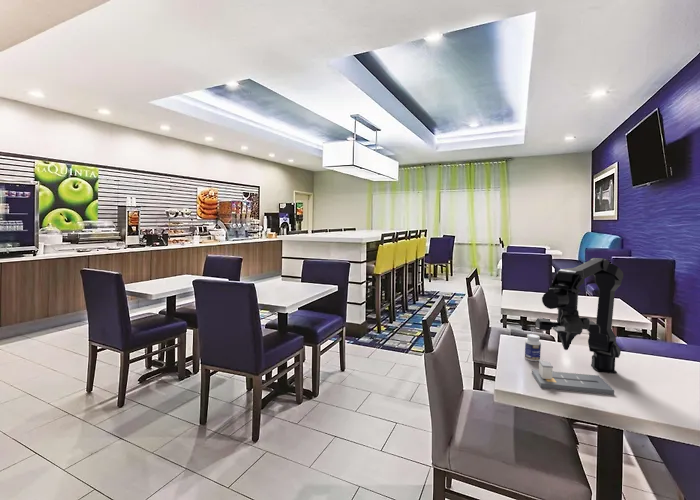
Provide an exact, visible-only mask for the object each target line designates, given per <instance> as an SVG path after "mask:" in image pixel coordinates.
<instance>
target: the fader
mask: <svg viewBox="0 0 700 500" xmlns="http://www.w3.org/2000/svg"><path fill="white" fill-rule="evenodd" d="M553 369H554V366H553V364H552V363H551V362H550V361H549V360H544V359H543V360H542V359H540V360H539V361H538V370H539V374H540V375H541V377H542V378H543V379H552V371H553Z"/></svg>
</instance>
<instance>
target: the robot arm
mask: <svg viewBox="0 0 700 500" xmlns="http://www.w3.org/2000/svg"><path fill="white" fill-rule="evenodd" d="M592 275H593V276H594V283H595V284H596V286H597V288H598V301H597V310H596V311H597V312H596V321H595V322H594V321H593V320H592V321H591V320H590V318H589V317H580V315H579V314H580V313H579V310H578V303H579V302H578V301H579V293H581V292H582V290H581V289H580V287H581V286H582V285H583V284H584V283H585V279H586V278H589V277H591V276H592ZM623 279H624V272H623V271H622V270H621V268H620V267H619V266H617V265H616V264H613V263H611V262H610V261H609V260H608V259H606V258H599V257H597V258H596V257H593V258H590V259H589V260H588V261H586V262H583V263H582V264H579V265H577V266H575V267H569V268H567V267H566V268H561V269H559V270H558V271H557V272H556V273H555V276H554V278H553V280H552V282H551V284H550V285H549V286H550V287H549V288H548V289H547V292H544V294H543V296H542V297H541V303H542V304H543V306H544V307H545V308H547V309H548V310H549V309H550V310H553V309H556V310H557V317H556V321H551V320H550V319H549V318H538V317H537V318H536V320H535V326H536V327H537V329H538V330H541V331H551V330H552V329H553V330H554V331H555V332H556V333H557V335H558V336H559V339H560V342H561V345H562V346H563V347H562V348H563V350H564V351H568V350H569V348H570V346H571V344H572V342H573V340H574V338H575V337H576V336H578V335H579V336H580V335H581V334H582V333H583V330H586V331H588V339H587V344H588V348H589V352H591V353H593V355H591V364H590V366H591V367H592V368H593V369H594V370H596V371H597V372H601V373H612V374H618V372H617V370H616V359H619V358H620V356H621V349H620V346H618V343H617V337H616V334H615V332H614V331H613V329H612V327H613V326H612V325H613V316H614V305H615V293H616V291H617V290H618V288H619V287H621V285H622V281H623Z"/></svg>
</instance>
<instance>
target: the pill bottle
mask: <svg viewBox="0 0 700 500" xmlns="http://www.w3.org/2000/svg"><path fill="white" fill-rule="evenodd" d="M526 335H527V336H526V340H525V343H524V344H525V346H524V358H525V360H528V361H532V362H539V360H541V349H542V347H541V346H542V344H541V341H540V339H541V338H540V336H539V335H538V334H532V333H531V334H530V333H527V334H526Z"/></svg>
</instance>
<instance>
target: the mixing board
mask: <svg viewBox="0 0 700 500" xmlns="http://www.w3.org/2000/svg"><path fill="white" fill-rule="evenodd" d="M531 375H532V376H533V378H534V379H535V382H536V383H537V384H538V385H539V387H540V388H541V389H542V388H544V389H555V390H565V391H574V392H585V393H593V394H604V395H612V396H614V395H615V389H614V388H612V387H611V386H610V385H609V384H608V382H606V381H605V380H604V379H603V378H602V377H601V376H600V375H595V374H585V373H576V372H575V373H574V372H563V371H553V370H552V379H543V378H542V377H541V375H540V374H539V369H531Z"/></svg>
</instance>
